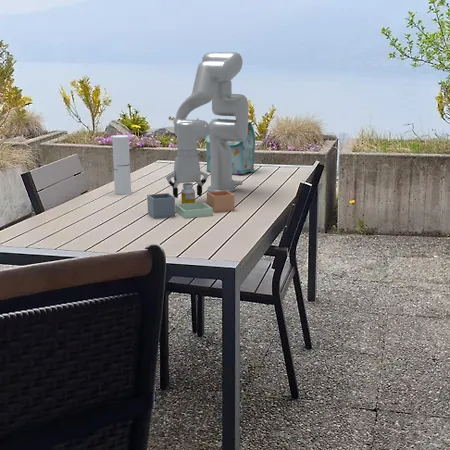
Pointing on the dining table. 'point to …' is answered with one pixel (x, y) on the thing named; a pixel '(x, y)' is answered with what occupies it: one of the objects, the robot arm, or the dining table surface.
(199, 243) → the dining table surface
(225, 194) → the terracotta square bin
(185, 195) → the supplement bottle
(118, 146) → the cylindrical container
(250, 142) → the lunch bag
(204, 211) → the green tray
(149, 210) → the grey square bin
